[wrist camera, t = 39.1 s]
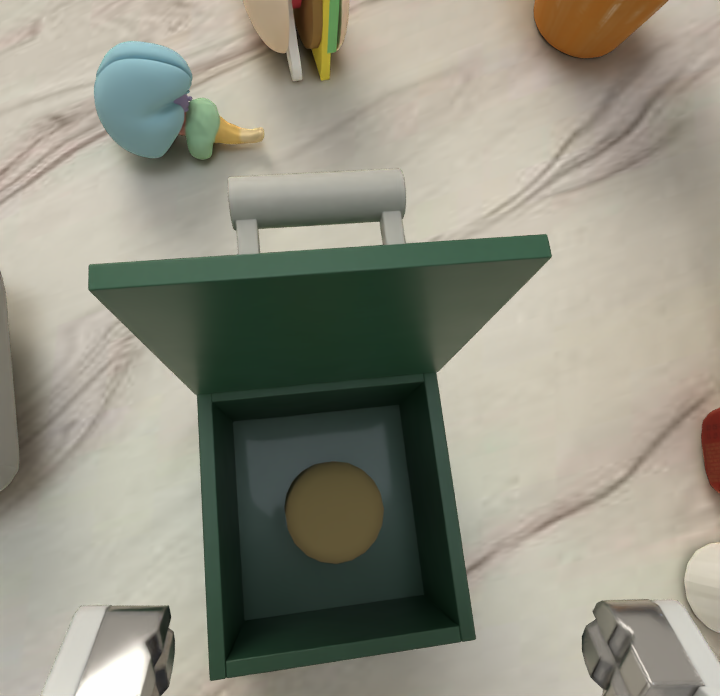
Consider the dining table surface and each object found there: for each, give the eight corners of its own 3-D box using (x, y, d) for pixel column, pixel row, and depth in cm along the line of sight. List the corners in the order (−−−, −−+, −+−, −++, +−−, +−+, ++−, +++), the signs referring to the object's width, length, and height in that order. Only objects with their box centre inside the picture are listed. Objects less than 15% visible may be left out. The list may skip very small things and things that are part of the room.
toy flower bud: (260, 118, 37) (68, 92, 35) (260, 187, 46) (106, 169, 44) (268, 30, 39) (86, 1, 37) (267, 113, 47) (119, 92, 45)
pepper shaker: (284, 554, 37) (275, 580, 27) (283, 463, 39) (275, 453, 28) (373, 550, 38) (399, 573, 27) (369, 460, 39) (392, 449, 29)
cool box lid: (552, 256, 17) (522, 123, 18) (87, 290, 15) (89, 141, 17) (438, 371, 32) (426, 293, 33) (195, 394, 30) (191, 311, 31)
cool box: (434, 603, 38) (476, 640, 29) (234, 632, 37) (209, 681, 27) (406, 394, 42) (435, 366, 32) (222, 413, 40) (196, 389, 31)
